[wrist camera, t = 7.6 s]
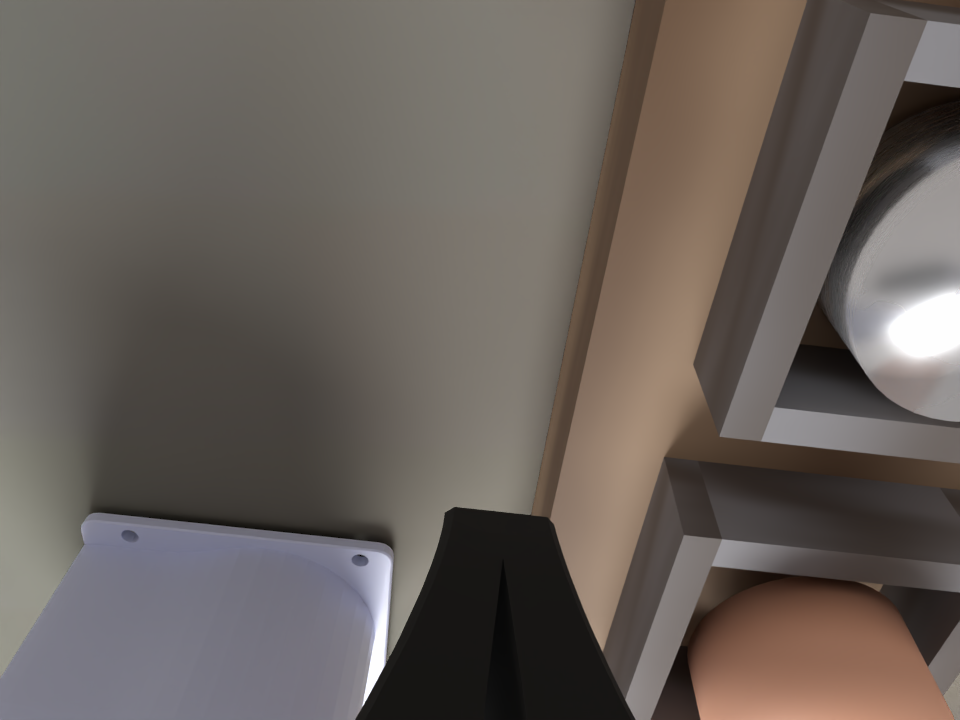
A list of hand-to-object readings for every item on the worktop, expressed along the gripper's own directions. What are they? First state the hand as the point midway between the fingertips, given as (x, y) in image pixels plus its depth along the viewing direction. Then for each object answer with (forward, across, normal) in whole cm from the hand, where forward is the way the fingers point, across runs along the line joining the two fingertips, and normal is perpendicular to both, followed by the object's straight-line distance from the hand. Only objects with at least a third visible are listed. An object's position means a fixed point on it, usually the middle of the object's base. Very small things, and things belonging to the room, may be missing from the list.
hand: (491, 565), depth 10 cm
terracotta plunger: (+5, -8, +7) cm, 12 cm away
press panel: (+10, -8, +2) cm, 13 cm away
